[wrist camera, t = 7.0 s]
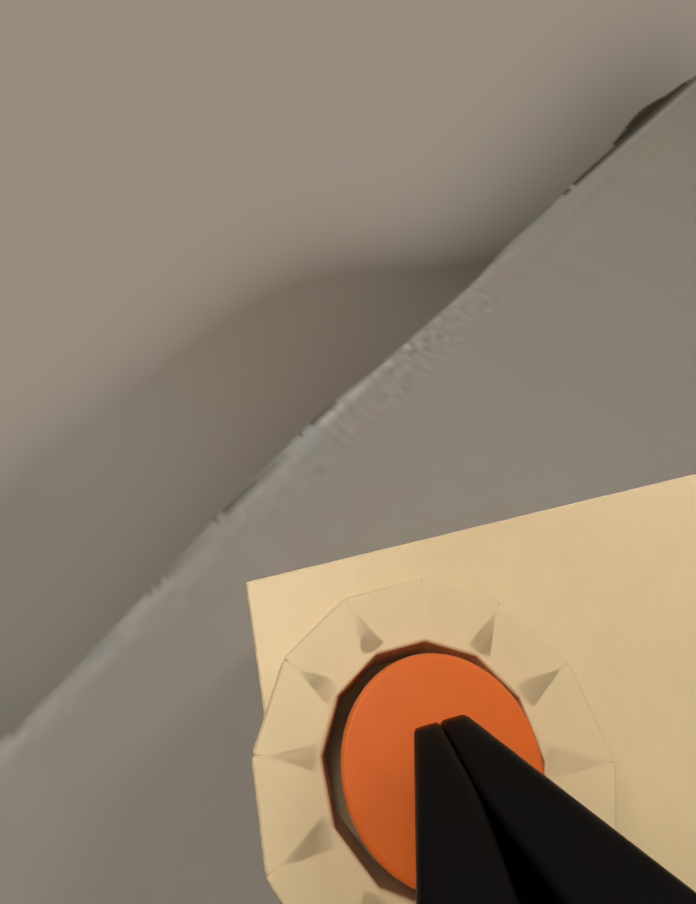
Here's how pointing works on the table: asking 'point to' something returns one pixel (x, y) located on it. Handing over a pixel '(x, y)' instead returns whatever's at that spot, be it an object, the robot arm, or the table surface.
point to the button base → (503, 656)
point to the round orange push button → (392, 744)
